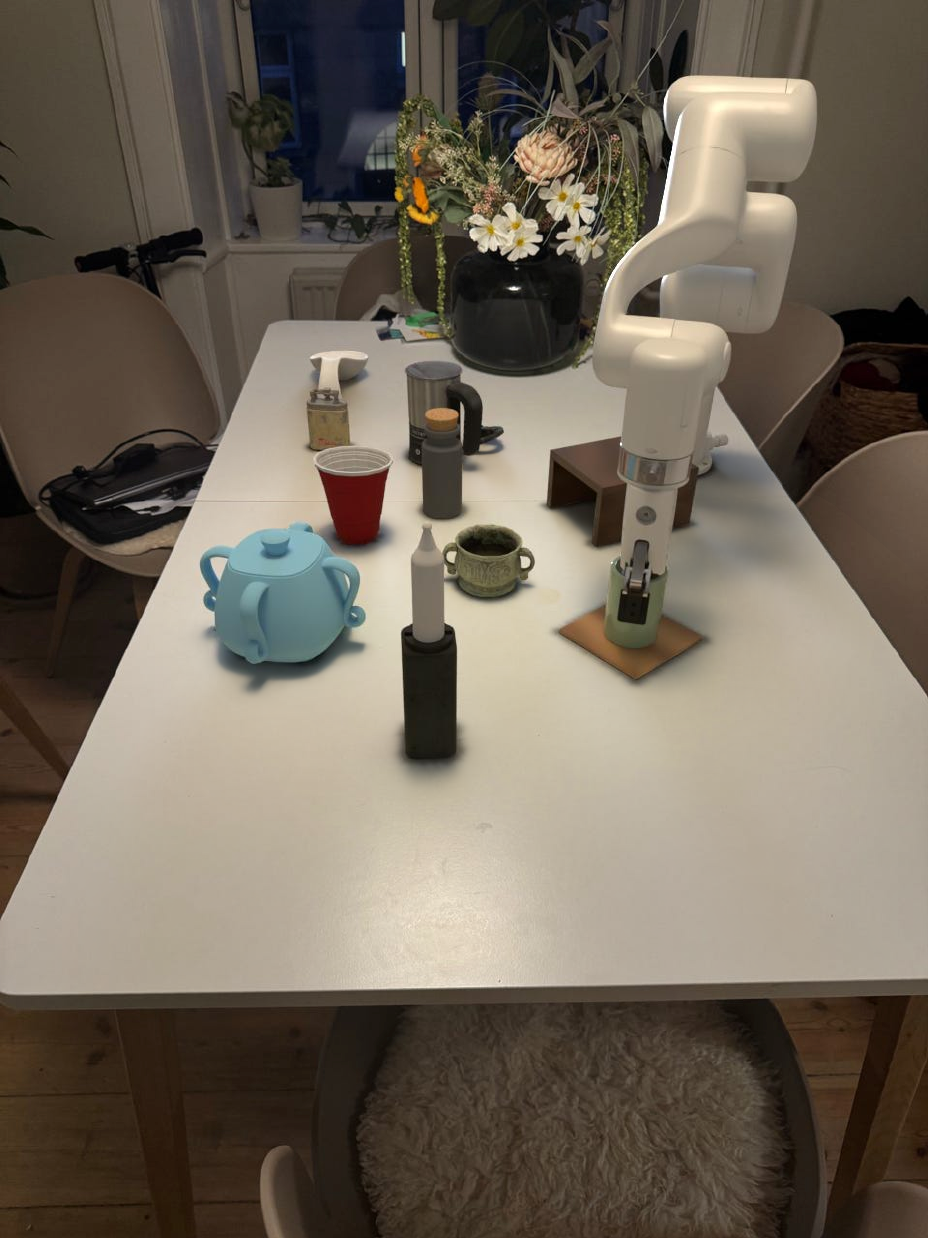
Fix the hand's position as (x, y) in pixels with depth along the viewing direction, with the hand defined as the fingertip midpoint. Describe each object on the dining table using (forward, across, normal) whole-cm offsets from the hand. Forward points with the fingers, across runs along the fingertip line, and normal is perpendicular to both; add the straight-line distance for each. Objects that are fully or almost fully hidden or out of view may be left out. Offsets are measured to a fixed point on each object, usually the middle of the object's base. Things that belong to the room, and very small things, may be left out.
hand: (634, 603), depth 102 cm
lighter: (+5, +42, +55) cm, 70 cm away
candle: (+5, -24, +18) cm, 30 cm away
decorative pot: (+5, -11, +39) cm, 41 cm away
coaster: (+5, 0, 0) cm, 5 cm away
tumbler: (+4, 0, 0) cm, 4 cm away
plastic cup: (+5, +15, +40) cm, 43 cm away
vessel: (+5, +7, +19) cm, 21 cm away
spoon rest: (+5, +72, +65) cm, 97 cm away
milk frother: (+5, +47, +34) cm, 58 cm away
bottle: (+5, +25, +30) cm, 40 cm away
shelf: (+5, +31, +5) cm, 32 cm away
